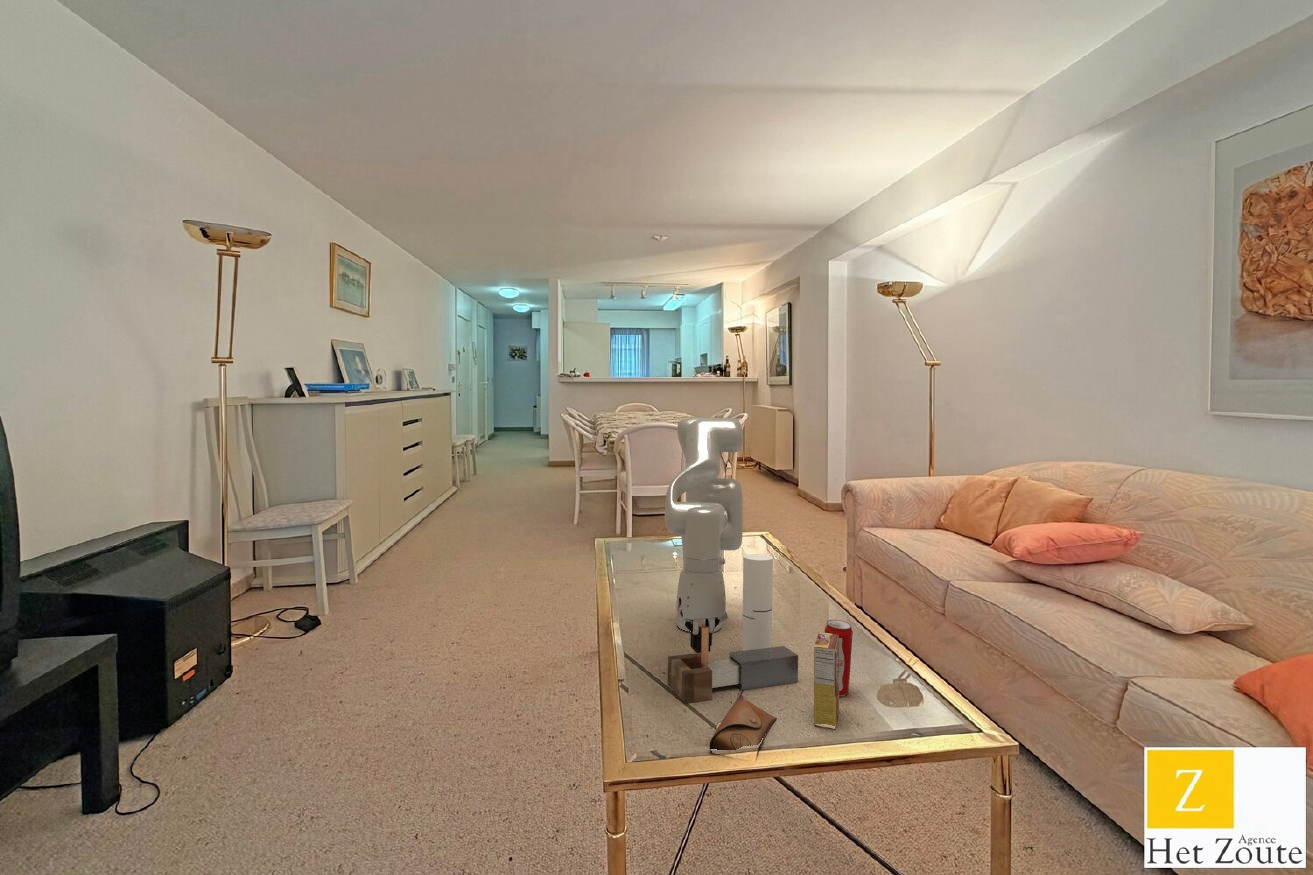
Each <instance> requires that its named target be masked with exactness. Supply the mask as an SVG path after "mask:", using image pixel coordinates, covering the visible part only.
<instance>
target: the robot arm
mask: <svg viewBox="0 0 1313 875" xmlns="http://www.w3.org/2000/svg"><path fill="white" fill-rule="evenodd" d="M676 428H677V429H676V430H677V437H678V438H677V440H678V441H679V445H680V447H681V450H682V453H683V456H684V457H685V467H684V468H683V469H681V471H679V472H678V473H677V474H676V475H675V476H674V477H673V478H672V480H671V481H670V483H669V485H668V487H667V490H666V492H665V493H666V494H665V505H664V507H665V508H664V525H665V528H666V530H667V531H668V533H670V534H672V535H675V536H680V538H681V539H680V540H681V546H682V560H683V563H682V564H683V565H682V569H681V570H680V574H679V579H678V583H677V592H676V604H675V611H676V612H675V613H676V616H675V618H674V622H675V624H676V626H677V625H678V627H679V628H680V629H679V628H678V627H677V628H678V629H679V630H681V629H682V630H681V631H683V630H686V631H691V633H690V638H689V640H690V641H689V642H690V647H691V649H692V650H693V652H694V651H695V652H696V653H700V650H701V635H700V634H699V631H698V622H702V623H704V624H705V625H706V626H708V627H709V644H708V653H709V652H711V647H712V646H713V633H715V632H716V633H717V632H718V631H719V629H720V628H722V622H723V621H726V620H727V619H728V613H727V610H726V609H727V597H726V595H727V594H726V585H725V584H726V583H725V578H724V573H723V570H721V568H722V567H721V566H722V565H725V564H726V559H725V558H723V557H721V551H736V550H739V549H740V548H741V546H742V541H743V508H744V507H743V505H744V504H743V502H744V501H743V490H742V489H743V488H742V486H741V483H740V482H739V481H738V480H736V479H734V478H723V477H722V478H721V477H720V478H718V476H719V474H720V472H721V459H720V456H721V455H720V454H721V453H738V452H740V451H741V450H742V448H743V443H744V430H743V425H742V424H741V422H740V421H739V420H738V419H737V418H736V417H735V418H734V417H703V416H699V417H695V416H694V417H687V418H683V419H681V420H680V421H678V424H677V427H676ZM685 493H686V494H685ZM683 494H685V495H686V499H685V500H686V501H678V499H679V498H680V497H681V495H683ZM720 630H721V629H720ZM686 631H685V632H686Z"/></svg>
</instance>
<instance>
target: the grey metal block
mask: <svg viewBox="0 0 1313 875" xmlns="http://www.w3.org/2000/svg"><path fill="white" fill-rule="evenodd" d="M733 658H734V659H735V660H736V661H737V662H739V663H740V664H741V684H735V686H736V687H737V688H739V689H740V690H741V691H746V690H753V689H754V690H755V689H759V688H767V687H773V686H774V687H775V686H780V685H787V684H794V683H798V682H799V681H798V680H799V654H798V653H796V652H794V651H792V650H791V649H789V648H788V647H786V646H784V645H782V646H781V645H779V646H774V647H771V648H763V649H755V650H747V651H742V650H740V651H731V652H729V658H728V659H733Z"/></svg>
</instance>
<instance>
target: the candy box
mask: <svg viewBox="0 0 1313 875" xmlns="http://www.w3.org/2000/svg"><path fill="white" fill-rule="evenodd" d="M838 713H840V697H839V644H838V635H837V634H830V633H824V632H818V634H817V636H816V640H815V642H814V646H813V722H814V724H828V725H832V726H835V725H836V726H837V724H836V723H838V719H837V717H838V718H839V714H838ZM814 724H813V725H814Z"/></svg>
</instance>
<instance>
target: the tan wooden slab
mask: <svg viewBox="0 0 1313 875" xmlns="http://www.w3.org/2000/svg"><path fill="white" fill-rule="evenodd" d="M698 631H699V634H700V635H701V650H700V653H696V652H695V651H694V650H693V654H694V669H697V668H705V667H709V668H710V669H711V670H712V689H713V688H719V687H720V688H721V687H726V686H727V687H728V686H733V685H735V684H741V664H740V663H739V662H737V661H736V660H735V659H734V658H733V659H729V658H726V659H719V660H711V661H710V660H709V652H708V644H709V627H708V626H706V625H705V624H704V623H702V622H698ZM735 686H736V685H735Z"/></svg>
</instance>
